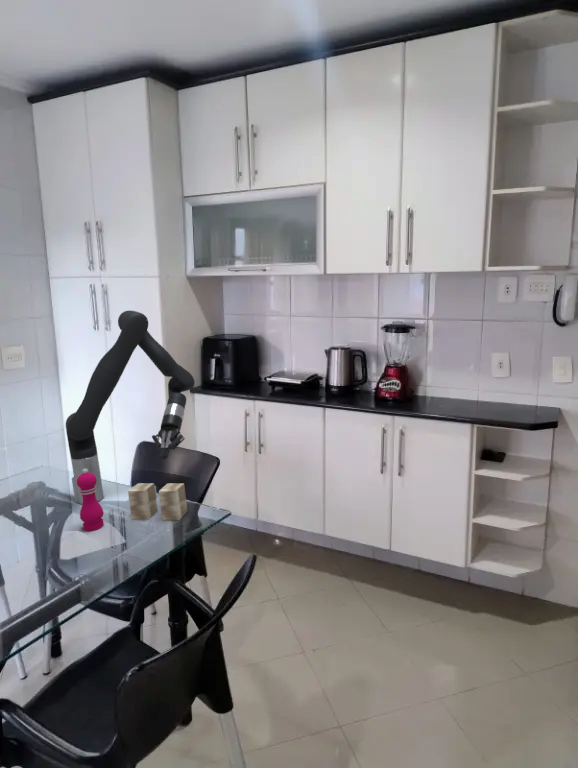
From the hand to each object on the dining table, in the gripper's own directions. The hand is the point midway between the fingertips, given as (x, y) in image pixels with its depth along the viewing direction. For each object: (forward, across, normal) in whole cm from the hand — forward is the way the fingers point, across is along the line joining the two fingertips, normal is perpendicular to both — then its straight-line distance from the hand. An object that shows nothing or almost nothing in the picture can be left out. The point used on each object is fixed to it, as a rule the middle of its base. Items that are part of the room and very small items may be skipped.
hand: (163, 458), depth 194 cm
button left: (+17, 0, -2) cm, 17 cm away
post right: (+23, +11, -3) cm, 26 cm away
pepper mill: (+30, -14, -9) cm, 34 cm away
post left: (+23, 0, -3) cm, 23 cm away
